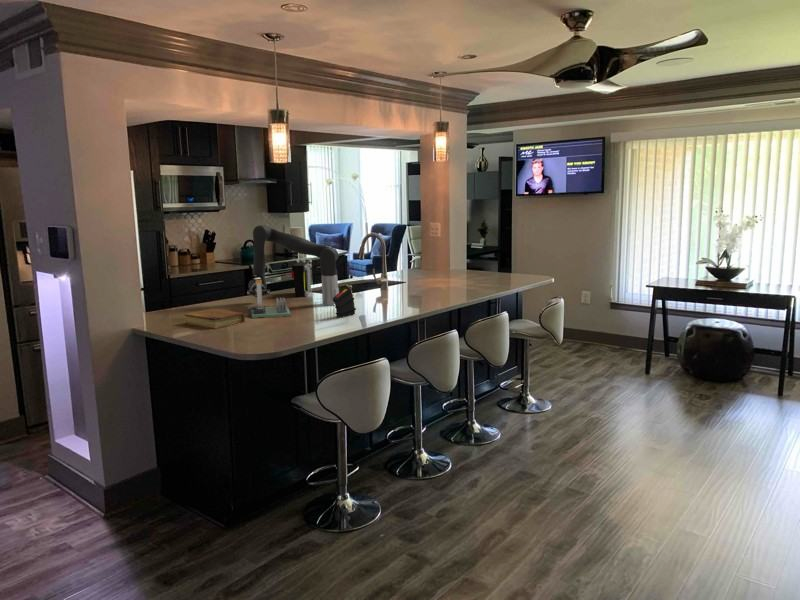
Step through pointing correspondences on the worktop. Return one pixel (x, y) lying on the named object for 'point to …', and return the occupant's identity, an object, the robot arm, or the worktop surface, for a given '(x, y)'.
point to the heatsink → (280, 309)
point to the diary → (214, 318)
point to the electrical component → (301, 278)
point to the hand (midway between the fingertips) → (258, 294)
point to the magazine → (344, 303)
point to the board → (271, 313)
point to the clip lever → (259, 294)
